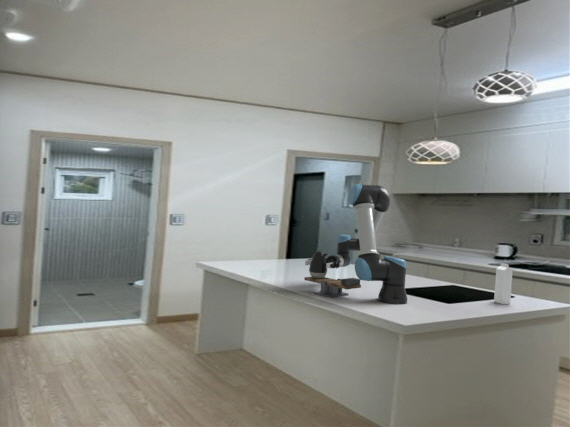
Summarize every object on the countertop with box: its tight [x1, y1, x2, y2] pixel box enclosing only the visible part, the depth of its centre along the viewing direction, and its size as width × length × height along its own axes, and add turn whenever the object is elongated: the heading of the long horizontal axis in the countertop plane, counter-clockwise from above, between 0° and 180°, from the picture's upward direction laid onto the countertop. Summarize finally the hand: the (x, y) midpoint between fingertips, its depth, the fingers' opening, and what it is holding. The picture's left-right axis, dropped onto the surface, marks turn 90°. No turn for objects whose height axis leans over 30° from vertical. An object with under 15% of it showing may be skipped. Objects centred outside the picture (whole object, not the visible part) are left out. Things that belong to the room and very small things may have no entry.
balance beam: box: [304, 276, 362, 290], centre depth 260 cm, size 30×12×4 cm, turn 45°
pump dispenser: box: [308, 250, 328, 279], centre depth 267 cm, size 10×10×15 cm
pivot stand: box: [313, 278, 349, 299], centre depth 260 cm, size 12×15×8 cm
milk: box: [493, 262, 514, 305], centre depth 265 cm, size 6×6×22 cm
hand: (316, 264), depth 264 cm, fingers open, 13 cm apart
